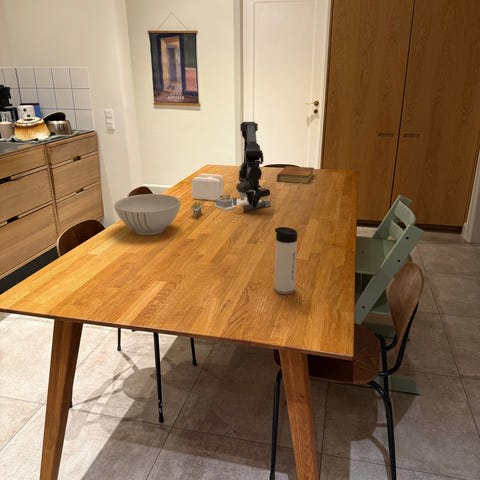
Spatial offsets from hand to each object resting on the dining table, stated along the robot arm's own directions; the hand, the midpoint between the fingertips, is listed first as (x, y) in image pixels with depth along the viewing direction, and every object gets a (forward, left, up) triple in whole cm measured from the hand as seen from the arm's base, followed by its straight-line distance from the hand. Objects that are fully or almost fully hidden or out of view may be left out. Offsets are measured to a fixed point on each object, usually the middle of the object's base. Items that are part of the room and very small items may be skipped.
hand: (252, 206), depth 219 cm
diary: (-62, -33, -2) cm, 70 cm away
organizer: (+5, -30, -2) cm, 30 cm away
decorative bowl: (+53, -4, -2) cm, 53 cm away
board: (0, -11, -1) cm, 11 cm away
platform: (+26, -8, -2) cm, 28 cm away
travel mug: (+47, +71, -2) cm, 85 cm away
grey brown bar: (0, 0, -1) cm, 1 cm away
